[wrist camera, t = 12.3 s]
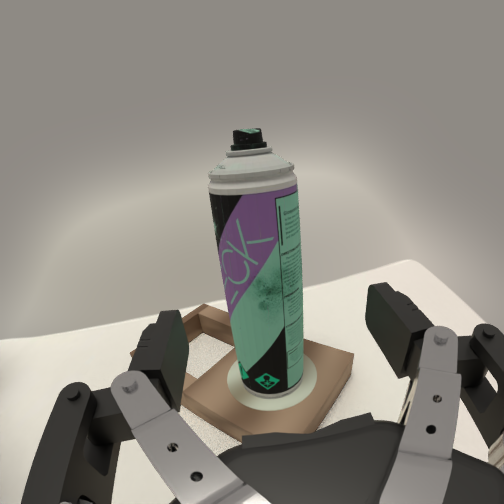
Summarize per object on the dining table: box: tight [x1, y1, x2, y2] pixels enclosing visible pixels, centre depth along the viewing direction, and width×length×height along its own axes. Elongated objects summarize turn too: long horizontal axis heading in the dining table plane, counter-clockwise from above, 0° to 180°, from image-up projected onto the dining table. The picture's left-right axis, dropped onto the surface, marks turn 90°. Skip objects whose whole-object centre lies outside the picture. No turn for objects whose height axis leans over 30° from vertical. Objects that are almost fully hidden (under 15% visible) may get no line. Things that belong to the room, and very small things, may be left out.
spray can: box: [208, 128, 303, 399], centre depth 20 cm, size 6×6×20 cm
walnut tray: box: [130, 304, 354, 443], centre depth 27 cm, size 20×12×3 cm, turn 53°
